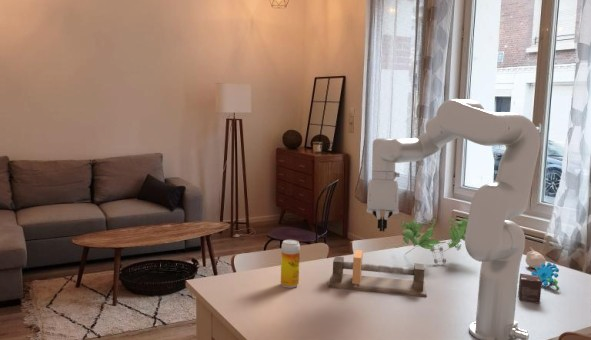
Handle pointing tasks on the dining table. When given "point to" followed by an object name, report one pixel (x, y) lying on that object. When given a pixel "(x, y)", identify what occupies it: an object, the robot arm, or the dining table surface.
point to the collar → (357, 266)
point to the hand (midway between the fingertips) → (382, 230)
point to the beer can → (290, 263)
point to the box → (529, 288)
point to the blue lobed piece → (547, 274)
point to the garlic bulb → (534, 259)
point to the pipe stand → (379, 278)
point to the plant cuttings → (425, 238)
